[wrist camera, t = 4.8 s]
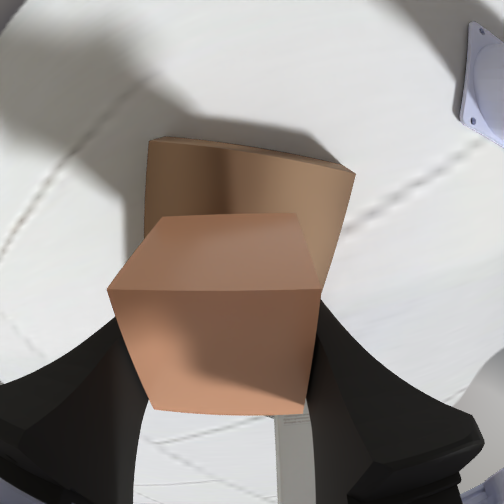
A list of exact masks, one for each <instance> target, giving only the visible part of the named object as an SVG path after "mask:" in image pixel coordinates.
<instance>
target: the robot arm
mask: <svg viewBox="0 0 504 504" xmlns="http://www.w3.org/2000/svg"><path fill="white" fill-rule="evenodd" d="M480 31H481V33H480ZM471 118H472V124H471ZM460 121H461V123H462V124H463V125H465V126H467V127H469V128H470V129H472V130H474V131H476V132H478V133H479V134H481V135H483V136H485V137H486V138H488V139H490V140H491V141H493V142H495V143H496V144H498V145H499V146H501V147H503V148H504V42H502V41H501V40H500V39H499V38H497V37H496V36H495V35H493V34H492V33H491V32H489V31H488V30H487V29H485V28H484V27H482V26H481V25H480V24H478V23H477V22H470V23H469V35H468V53H467V65H466V75H465V83H464V91H463V98H462V104H461V110H460ZM148 400H149V398H148V396H147V394H146V392H145V389H144V387H143V385H142V383H141V380H140V378H139V376H138V373H137V371H136V369H135V366H134V364H133V362H132V359H131V357H130V354H129V352H128V349H127V346H126V344H125V341H124V339H123V336H122V333H121V331H120V328H119V325H118V322H117V319H116V316H115V317H114V318H113V319H112V320H110V321H109V322H108V323H107V324H106V325H104V326H103V327H102V328H101V329H99V330H98V331H97V332H96V333H94V334H93V335H92V336H90V337H89V338H88V339H86V340H85V341H84V342H83V343H81V344H80V345H78V346H77V347H76V348H74V349H73V350H71V351H70V352H68V353H67V354H65V355H63V356H62V357H60V358H59V359H57V360H55V361H54V362H52V363H50V364H48V365H46V366H44V367H42V368H40V369H39V370H37V371H35V372H33V373H31V374H28V375H26V376H24V377H22V378H19V379H17V380H14V381H12V382H9V383H6V384H3V385H0V504H133V484H134V471H135V461H136V454H137V446H138V440H139V435H140V429H141V424H142V420H143V416H144V412H145V409H146V406H147V403H148ZM306 401H307V406H308V410H309V415H310V421H311V427H312V438H313V451H314V467H315V492H316V504H504V468H502V469H500V470H499V471H497V472H496V473H495V474H493V475H492V476H491V477H489V478H488V479H487V480H485V482H484V483H482V484H480V485H478V486H476V487H474V488H472V489H470V490H468V491H466V492H464V493H462V494H460V493H459V490H458V486H457V484H459V483H460V482H461V477H460V474H459V471H460V470H461V469H462V468H463V467H465V466H466V465H467V464H468V463H469V462H470V461H471V460H472V459H473V458H475V456H477V454H479V452H480V451H481V450H482V448H483V446H484V444H485V443H484V439H483V437H482V434H481V432H480V430H479V428H478V425H477V423H476V421H475V419H474V418H473V416H472V415H470V414H468V413H465V412H463V411H461V410H458V409H456V408H453V407H451V406H449V405H446V404H444V403H442V402H440V401H438V400H436V399H434V398H432V397H430V396H429V395H427V394H425V393H423V392H421V391H420V390H418V389H416V388H415V387H413V386H411V385H410V384H408V383H407V382H405V381H404V380H402V379H401V378H399V377H398V376H397V375H395V374H394V373H392V372H391V371H390V370H388V369H387V368H386V367H385V366H383V365H382V364H381V363H380V362H379V361H377V360H376V359H375V358H374V357H373V356H371V355H370V354H369V353H368V352H367V351H366V350H365V349H364V348H363V347H362V346H361V345H360V344H359V343H358V342H357V341H356V340H355V339H354V338H353V337H352V336H351V335H350V334H349V332H348V331H347V330H346V329H345V328H344V327H343V326H342V325H341V324H340V322H339V321H338V320H337V319H336V318H335V316H334V315H333V314H332V313H331V312H330V310H329V309H328V308H327V307H326V305H325V304H324V303H323V301H322V300H321V299H320V307H319V315H318V323H317V330H316V338H315V345H314V351H313V358H312V364H311V370H310V377H309V382H308V388H307V394H306Z"/></svg>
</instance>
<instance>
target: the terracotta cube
mask: <svg viewBox="0 0 504 504" xmlns="http://www.w3.org/2000/svg"><path fill="white" fill-rule="evenodd" d="M321 290H322V288H321V285H320V282H319V279H318V276H317V273H316V270H315V267H314V264H313V261H312V258H311V255H310V252H309V249H308V246H307V243H306V241H305V238H304V235H303V232H302V229H301V226H300V224H299V221H298V218H297V215H296V213H254V214H216V215H189V216H166V217H162V218H161V219H160V220H159V221H158V223H157V224H156V225H155V226H154V228H153V229H152V230H151V231H150V233H149V234H148V235H147V236H146V238H145V239H144V240H143V241H142V243H141V244H140V245H139V246H138V248H137V249H136V250H135V252H134V253H133V254H132V255H131V257H130V258H129V259H128V261H127V262H126V263H125V265H124V266H123V267H122V269H121V270H120V271H119V273H118V274H117V275H116V277H115V278H114V280H113V281H112V282H111V284H110V285H109V286H108V288H107V292H108V295H109V298H110V301H111V304H112V308H113V311H114V313H115V316H116V319H117V322H118V325H119V328H120V331H121V333H122V336H123V339H124V341H125V344H126V346H127V349H128V352H129V354H130V357H131V359H132V362H133V364H134V366H135V369H136V371H137V373H138V376H139V378H140V380H141V383H142V385H143V387H144V389H145V392H146V394H147V396H148V398H149V400H150V402H151V404H152V406H153V408H154V409H155V410H163V411H173V412H183V413H196V414H212V415H290V414H303V410H304V405H305V399H306V394H307V388H308V382H309V377H310V370H311V364H312V358H313V351H314V345H315V338H316V330H317V323H318V315H319V307H320V299H321Z"/></svg>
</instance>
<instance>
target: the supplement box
mask: <svg viewBox="0 0 504 504" xmlns="http://www.w3.org/2000/svg"><path fill="white" fill-rule="evenodd" d="M274 426H275V445H276V469H277V494H278V504H316V492H315V467H314V451H313V438H312V427H311V421H310V415H309V410H308V406H307V401H306V399H305V405H304V410H303V414H290V415H274Z"/></svg>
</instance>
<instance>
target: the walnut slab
mask: <svg viewBox="0 0 504 504" xmlns="http://www.w3.org/2000/svg"><path fill="white" fill-rule="evenodd" d="M355 175H356V174H355V173H354V172H352V171H351V170H349V169H348V168H346V167H345V166H343V165H341V164H337V163H333V162H328V161H324V160H319V159H315V158H310V157H305V156H300V155H295V154H290V153H285V152H279V151H274V150H268V149H262V148H256V147H250V146H243V145H236V144H229V143H222V142H214V141H206V140H197V139H188V138H178V137H166V136H164V137H161V138H157V139H154V140H150V141H149V146H148V158H147V172H146V189H145V214H144V239H145V238H146V236H147V235H148V234H149V233H150V231H151V230H152V229H153V228H154V226H155V225H156V224H157V223H158V221H159V220H160V219H161V218H162V217H166V216H189V215H216V214H254V213H296V215H297V218H298V221H299V224H300V226H301V229H302V232H303V235H304V238H305V241H306V243H307V246H308V249H309V252H310V255H311V258H312V261H313V264H314V267H315V270H316V273H317V276H318V279H319V282H320V285H321V288H322V290H323V287H324V284H325V281H326V277H327V274H328V271H329V268H330V265H331V262H332V258H333V255H334V252H335V248H336V245H337V242H338V238H339V235H340V232H341V228H342V225H343V221H344V217H345V214H346V210H347V206H348V203H349V199H350V195H351V191H352V187H353V183H354V179H355ZM322 290H321V293H322Z"/></svg>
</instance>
